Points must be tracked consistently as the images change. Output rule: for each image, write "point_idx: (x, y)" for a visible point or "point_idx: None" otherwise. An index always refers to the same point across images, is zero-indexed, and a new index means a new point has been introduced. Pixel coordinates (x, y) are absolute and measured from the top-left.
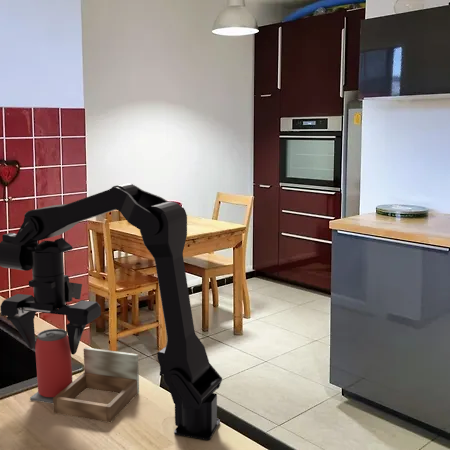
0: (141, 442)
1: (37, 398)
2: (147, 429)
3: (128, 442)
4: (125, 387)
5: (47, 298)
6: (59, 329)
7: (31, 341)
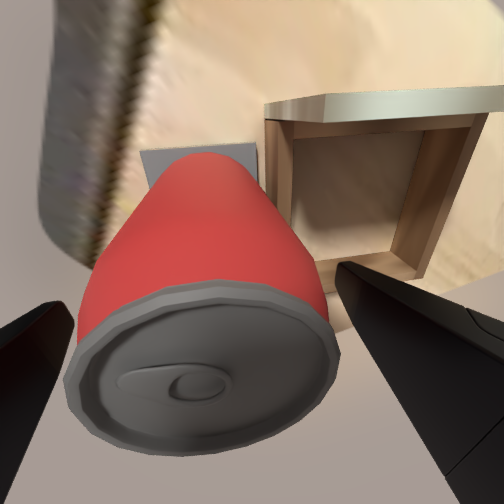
0: (456, 282)
1: None
2: (466, 248)
3: (435, 290)
4: (452, 178)
5: None
6: (197, 304)
7: (45, 362)
